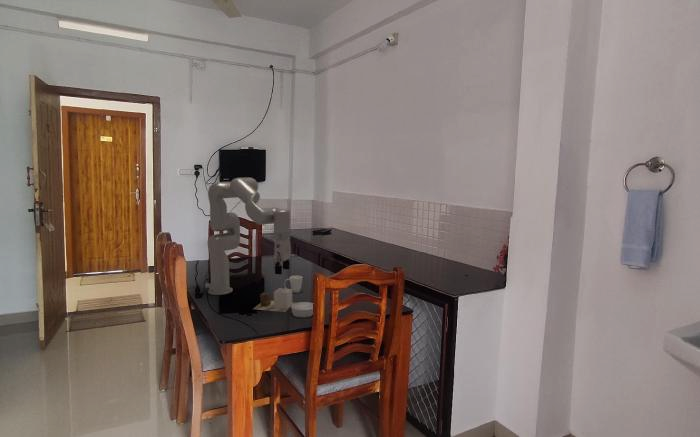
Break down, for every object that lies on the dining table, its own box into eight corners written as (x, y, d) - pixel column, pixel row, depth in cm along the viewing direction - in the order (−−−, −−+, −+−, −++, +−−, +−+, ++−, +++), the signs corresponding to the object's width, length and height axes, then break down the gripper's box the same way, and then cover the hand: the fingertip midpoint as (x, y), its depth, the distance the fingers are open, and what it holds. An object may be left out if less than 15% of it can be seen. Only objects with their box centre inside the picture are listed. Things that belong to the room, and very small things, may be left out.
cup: (302, 293, 231) (302, 278, 230) (283, 293, 230) (283, 279, 229) (302, 289, 238) (302, 275, 237) (284, 290, 237) (284, 275, 236)
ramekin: (316, 321, 190) (316, 309, 189) (290, 321, 189) (290, 310, 189) (316, 312, 201) (315, 301, 201) (291, 313, 200) (291, 302, 200)
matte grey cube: (274, 308, 202) (273, 292, 201) (279, 303, 208) (279, 288, 207) (287, 309, 201) (287, 293, 200) (292, 304, 207) (292, 289, 206)
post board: (252, 312, 201) (252, 297, 200) (264, 303, 214) (264, 289, 213) (285, 315, 197) (284, 300, 196) (295, 305, 211) (295, 291, 210)
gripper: (282, 239, 192) (283, 276, 194) (295, 233, 208) (296, 267, 210) (267, 238, 193) (267, 275, 195) (281, 232, 210) (281, 266, 212)
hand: (282, 271), depth 203 cm, fingers open, 9 cm apart
